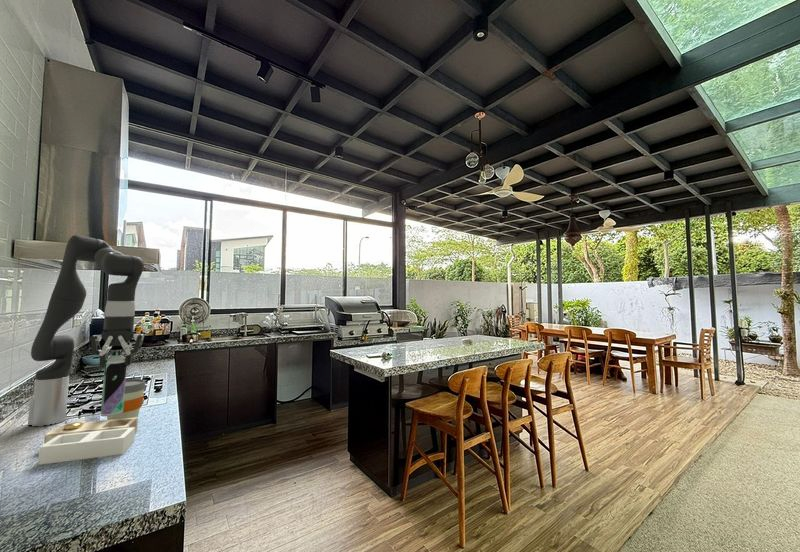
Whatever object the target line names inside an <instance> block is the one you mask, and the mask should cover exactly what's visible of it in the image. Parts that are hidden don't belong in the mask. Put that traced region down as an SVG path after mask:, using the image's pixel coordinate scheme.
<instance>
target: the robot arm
mask: <svg viewBox="0 0 800 552" xmlns="http://www.w3.org/2000/svg"><path fill="white" fill-rule="evenodd" d="M78 261H79V262H80V261H81V262H89V263H96V264H97V265H98V266H99V267H101V268H102V270H103V272H104V274H106V275H109V276H115V277H118V276H119V277H126V278H125V280H124V281H122V282H121V281H120V282H113V283H110V284H109V285H108V286H107V296H106V304H105V309H104V312H103V313H104V317H103V318H104V319H103V331H102V333H101V334H94V335H91V336H90V338H89V339H90V340H89V341H90V347H91V352H92V354H93V355H98V357H99V366H100V367H101V368H103V369H104V366H105V361H106V360H105V359H107V358H109V355H108V353H109V351H110V350H111V349H112V347H115V346H116V347H117V346H118V347H122V349H123V350H124V352H125V354H126V355H125V356H124V357H125V367H126V368H127V367H129V366H131V365H132V364H133V359H134V356H133V355H134V354H136V353H140V351H141V348H142V345H143V343H144V339H145V334H144V333H141V334H138V333H135V331H134V325H135V311H136V305H135V298H136V288H137V286H138V283H139V281H140V278H141V276H142V274H143V271H144V268H145V262H144V260H143V259H142V258H141V257H139V256H137V255H136V256H135V255H127V254H123V253H122V252H120V251H118V250H115V249H113V248H112V246H111V245H110V244H109V243H107V242H106V241H105V240H102V239H99V238H94V237H88V236H84V235H72V236H70V238H69V239H68V240H67V244H66V247H65V249H64V255H63V258H62V262H61V267H60V271H59V273H58V277H57V279H56V283H55V285H54V288H53V291H52V293H51V296H50V299H49V300H48V301H49V302H48V306H47V309H46V312H45V315H44V318H43V321H42V323H41V325H40V328H39V330H38V332H37V334H36V336H35V339H33V342H32V345H31V349H30V350H31V351H30V355H31V358H32V360H33V361H35V362H36V361H37V362H46V361H54V360H55V361H54V362H53V363H51V364H50V365H49V366H47V367H44V368H41V369H40V370H37V371H36V372H35V376H34V388H33V396H32V397H33V399H30V400H29V409H28V417H27V426H28V425H32V426H31V427H34V426H39V427H44V426H43V425H47V426H51V425H50V424H52V425H56V424H59V423H62V422H64V421H66V419H67V407H68V398H69V397H68V395H69V387H70V386H69V384H70V374H71V369H72V366H73V358H74V357H73V356H74V351H75V340H74V338H73V336H71V335H69V334H67V335H65V334H64V335H56V334H57V332H58V330H59V329H60V328H61V327H63V325H65V324H66V323H67V322H68V321H70V320H71V319H73V318H74V317H75V316H76V315H77V314H78V313H80V312H81V310H82V309H83V306H84V303H85V300H86V298H87V297H86V296H87V289H86V288H85V286H84V284H83V282H82V280H81V279H80V276H79V274H78V272H77V262H78ZM133 338H134V341H135V343H134V347H132V346H133V345H132V343H131V342H130V341H132V339H133ZM102 339H103V341H104V342H105V343H104V345H102V347H101V345H100V343H101V342H100V341H101V340H102ZM55 423H56V424H55Z"/></svg>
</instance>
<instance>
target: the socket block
mask: <svg viewBox="0 0 800 552" xmlns="http://www.w3.org/2000/svg"><path fill="white" fill-rule="evenodd" d="M138 422H139V416H138V417H135V418H124V419H114V420H107V419H106V420H104V419H103V420H97V421H96V420H94V421H84V422H82V427H80V428H78V429H73V430H64V426H65V425H67V424H68V423H64V424H60V425H58V426H57V427H56V428H53V429H51V431H49V432H48V433H45V434H44V438H43V441H44V442H43V445H44V444H45V443H47V442H48V441H50V440H52V439H53V438H55V437H56V436H58V435H64V434H73V433H83V432H92V431H102V430H111V429H121V428H131V427H135V434H136V433H137V432H138V425H139V423H138Z"/></svg>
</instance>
